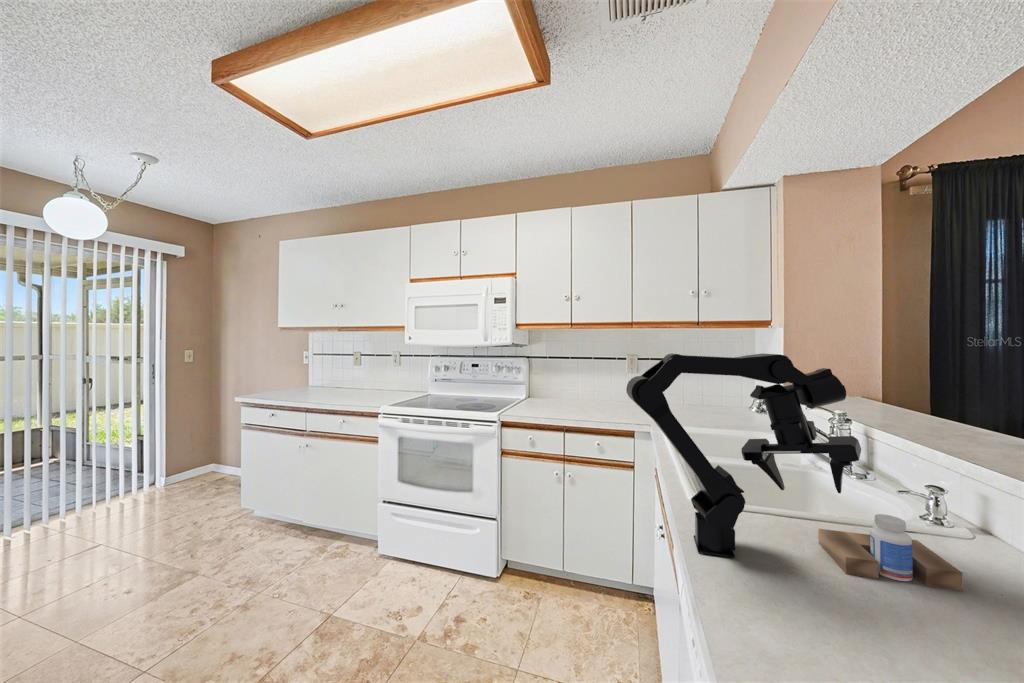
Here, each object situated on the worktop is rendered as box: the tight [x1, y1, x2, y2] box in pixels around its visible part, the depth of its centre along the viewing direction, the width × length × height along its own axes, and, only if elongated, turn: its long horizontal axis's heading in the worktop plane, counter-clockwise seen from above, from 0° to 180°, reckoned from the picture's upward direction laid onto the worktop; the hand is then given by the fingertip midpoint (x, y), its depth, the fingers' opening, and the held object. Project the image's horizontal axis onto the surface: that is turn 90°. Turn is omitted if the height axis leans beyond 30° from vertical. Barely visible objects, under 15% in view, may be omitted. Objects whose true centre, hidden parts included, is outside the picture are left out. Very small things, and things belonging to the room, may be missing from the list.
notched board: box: [817, 528, 964, 592], centre depth 72 cm, size 16×11×3 cm
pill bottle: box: [869, 513, 914, 582], centre depth 69 cm, size 6×5×10 cm
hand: (810, 490), depth 76 cm, fingers open, 9 cm apart
